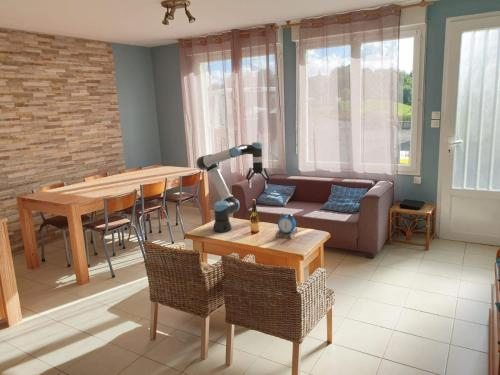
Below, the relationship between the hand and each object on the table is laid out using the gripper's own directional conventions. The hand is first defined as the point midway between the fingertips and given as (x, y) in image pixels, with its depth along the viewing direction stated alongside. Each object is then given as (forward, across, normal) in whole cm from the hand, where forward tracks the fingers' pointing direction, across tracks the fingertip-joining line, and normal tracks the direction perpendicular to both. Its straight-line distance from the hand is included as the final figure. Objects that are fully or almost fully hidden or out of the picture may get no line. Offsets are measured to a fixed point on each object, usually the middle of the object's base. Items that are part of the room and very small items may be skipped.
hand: (258, 188), depth 324 cm
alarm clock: (+33, +25, -8) cm, 42 cm away
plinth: (+35, +25, -8) cm, 44 cm away
